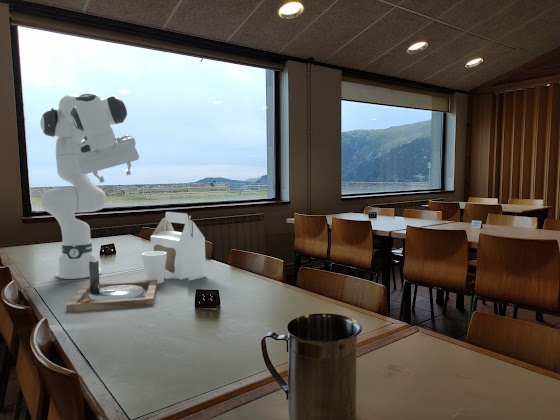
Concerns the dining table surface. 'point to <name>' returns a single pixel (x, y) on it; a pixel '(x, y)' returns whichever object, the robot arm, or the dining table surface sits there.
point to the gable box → (180, 247)
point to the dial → (110, 287)
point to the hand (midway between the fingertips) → (115, 178)
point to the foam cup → (154, 265)
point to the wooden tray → (86, 305)
